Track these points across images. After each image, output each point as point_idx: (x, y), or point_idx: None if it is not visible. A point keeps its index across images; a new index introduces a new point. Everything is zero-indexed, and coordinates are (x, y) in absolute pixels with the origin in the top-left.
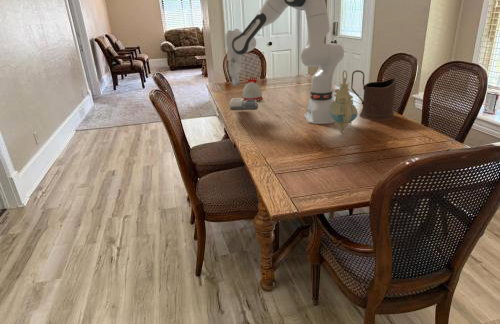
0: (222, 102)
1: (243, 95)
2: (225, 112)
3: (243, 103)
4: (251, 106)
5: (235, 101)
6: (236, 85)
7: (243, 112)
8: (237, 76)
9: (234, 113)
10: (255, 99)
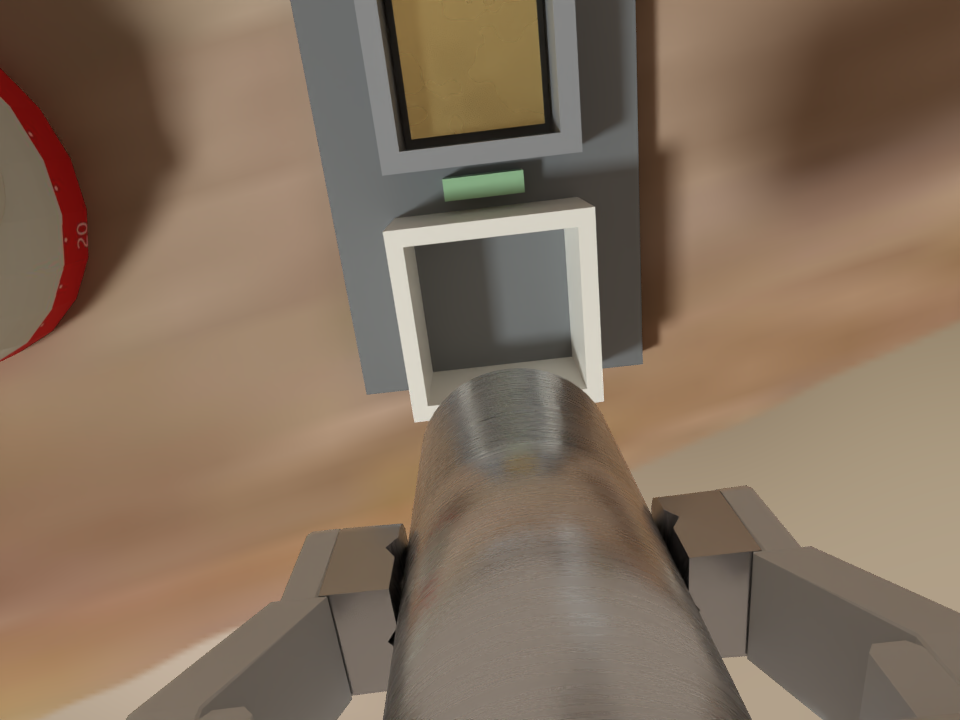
0: (289, 558)
1: (6, 340)
2: (790, 367)
3: (488, 196)
4: (579, 13)
5: (598, 317)
6: (603, 417)
7: (814, 96)
8: (644, 558)
9: (855, 225)
10: (17, 96)
